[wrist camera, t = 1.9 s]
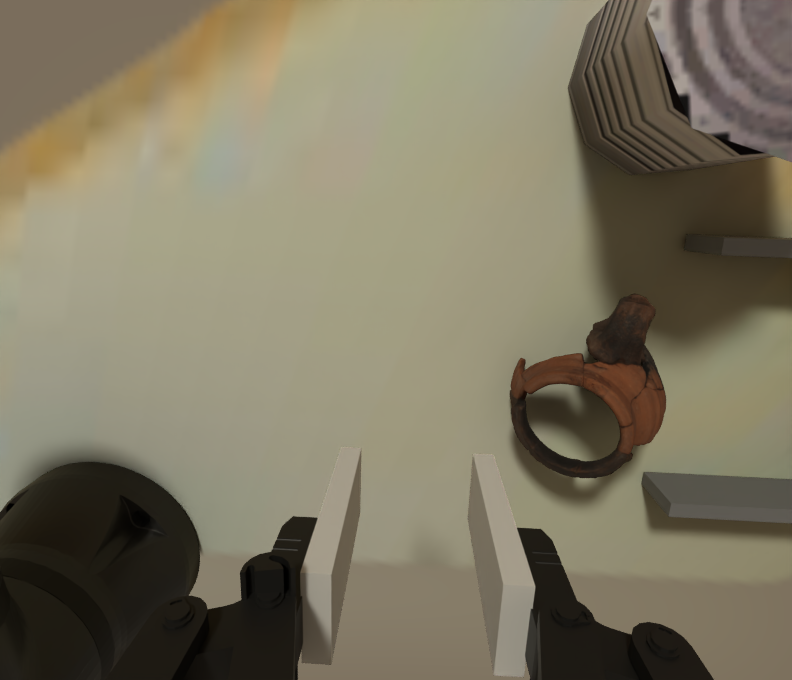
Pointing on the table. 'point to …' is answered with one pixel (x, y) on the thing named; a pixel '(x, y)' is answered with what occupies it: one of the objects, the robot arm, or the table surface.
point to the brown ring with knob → (601, 387)
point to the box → (726, 492)
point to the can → (685, 83)
